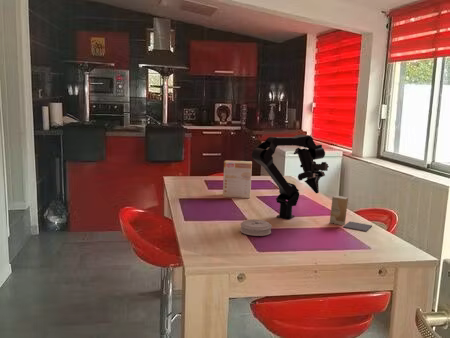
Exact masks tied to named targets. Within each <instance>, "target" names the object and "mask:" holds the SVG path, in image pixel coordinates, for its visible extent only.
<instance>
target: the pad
mask: <svg viewBox="0 0 450 338" xmlns="http://www.w3.org/2000/svg"><path fill="white" fill-rule="evenodd" d="M372 227H373V225H372V224H366V223H361V222H354V221H348V222H347V223H345V224H344V225H342V228H345V229H349V230H354V231H360V232H365V233H366V232H368V231H369V230H370V229H371V228H372Z"/></svg>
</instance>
